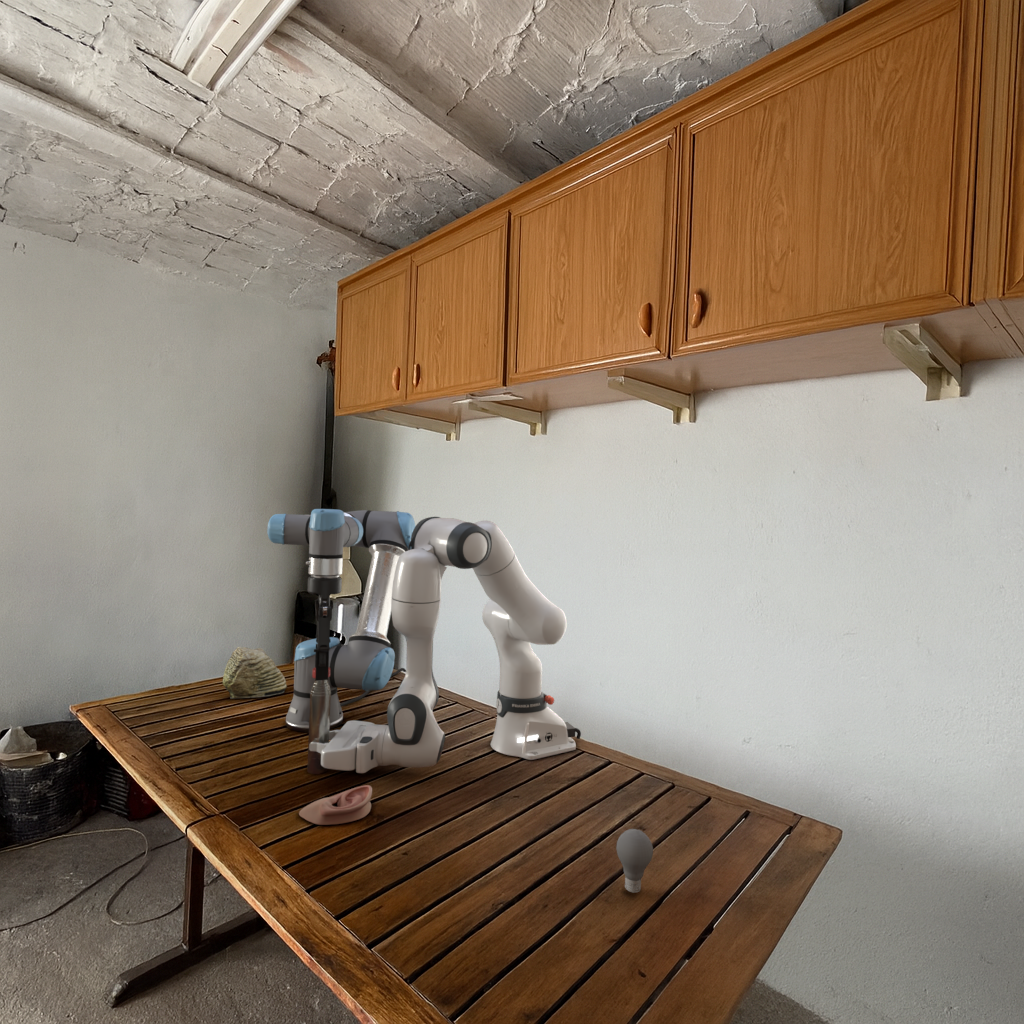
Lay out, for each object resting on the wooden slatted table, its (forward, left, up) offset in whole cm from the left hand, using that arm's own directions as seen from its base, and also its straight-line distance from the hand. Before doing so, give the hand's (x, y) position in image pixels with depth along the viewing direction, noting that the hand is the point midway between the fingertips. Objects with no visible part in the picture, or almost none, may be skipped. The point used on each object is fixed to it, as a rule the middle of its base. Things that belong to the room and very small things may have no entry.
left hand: (321, 675), depth 146 cm
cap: (0, 0, +1) cm, 1 cm away
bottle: (0, 0, -22) cm, 22 cm away
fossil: (-18, -60, -22) cm, 66 cm away
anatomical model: (+9, +19, -22) cm, 31 cm away
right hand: (+1, -1, -15) cm, 15 cm away
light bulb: (-9, +77, -22) cm, 80 cm away
